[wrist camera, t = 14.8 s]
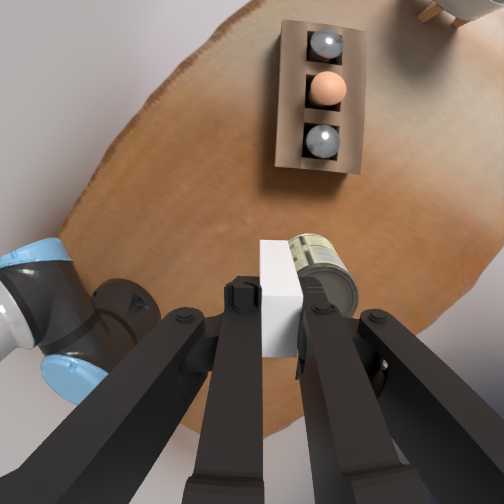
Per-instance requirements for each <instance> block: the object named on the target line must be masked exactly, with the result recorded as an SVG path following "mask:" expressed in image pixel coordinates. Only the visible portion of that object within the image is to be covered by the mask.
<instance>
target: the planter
mask: <svg viewBox="0 0 504 504" xmlns="http://www.w3.org/2000/svg"><path fill="white" fill-rule="evenodd" d="M503 7H504V0H434V1H433V2H432V3H431V4H430V5H429V6H428V7H427V8H426V9H425V10H424V11H423V12H422V13H420V14H419V15H418V17H417V18H418V19H419V20H420V21H421V22H422V23H425V22H426V21H428V20H429V19H431V18H432V17H434V16H435V15H437V14H438V13H440V12H441V11H443V10H445V11H447V12H448V13H450V14H451V15H453V16H455V17H456V18H455V20H454V21H453V22H452V24H453V25H454V26H455V27H456V28H458V27H460V26H462V25H464V24H466V23H468V22H470V21H473V20H476V19H478V18H480V17H483V16H485V15H487V14H489V13H492V12H494V11H496V10H498V9H501V8H503Z"/></svg>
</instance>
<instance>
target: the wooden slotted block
mask: <svg viewBox="0 0 504 504" xmlns="http://www.w3.org/2000/svg"><path fill="white" fill-rule="evenodd" d="M321 29H329V30H332V31H334V32H336V33H338V34H339V35H340V36H341V38H342V40H343V43H344V48H343V51H342V52H341V54H340V55H339V56H338V57H336V58H334V64H326V63H319V62H311V61H306V60H307V44H310V41H311V38H312V36H313V34H314V33H315V32H316V31H318V30H321ZM326 71H328V72H333V73H336V74H338V75H339V76H340V77H341V78H342V79H343V80H344V82H345V84H346V95H345V97H344V98H343V100H341V101H340V102H339V103H337V104H334V105H332V111H328V110H319V109H310V108H305V88H306V83H312V81H313V79H314V78H315V76H316V75H318V74H319V73H321V72H326ZM365 87H366V36H365V31H361V30H356V29H351V28H345V27H339V26H333V25H327V24H320V23H312V22H303V21H293V20H282V27H281V37H280V61H279V83H278V103H277V122H276V140H275V158H274V165H275V167H288V168H301V169H312V170H323V171H332V172H342V173H350V174H359V175H360V171H361V159H362V147H363V133H364V115H365ZM304 125H306V126H318V125H328V126H330V127H332V128H334V129H335V130H336V131H337V133H338V135H339V137H340V147H339V150H338V151H337V153H336V154H335V155H333V156H331V157H329V159H322V158H311V157H302V144H303V128H304Z"/></svg>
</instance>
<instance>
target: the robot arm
mask: <svg viewBox="0 0 504 504" xmlns="http://www.w3.org/2000/svg"><path fill="white" fill-rule="evenodd" d="M224 302H225V309H224V312H223V313H222V314H220V315H217V316H213V317H207V318H204V315H203V313H202V312H201V311H200V310H198V309H195V308H188V307H184V308H183V307H182V308H178V309H175V310H172V311H171V312H170V313H168V314H167V315H166V316H165V317H164V318H163V319H162V320H161V315H160V311H159V308H158V306H157V304H156V302H155V301H154V299H153V298H152V296H151V295H150V294H149V293H148V292H147V291H146V290H145V289H143V288H142V287H141V286H139V285H138V284H136V283H134V282H132V281H129V280H125V279H110V280H107V281H105V282H104V283H102V284H101V285H100V286H99V287H98V288H97V289H96V290H95V291H94V293H93V294H92V296H91V298H90V296H89V294H88V293H87V291H86V289H85V287H84V285H83V283H82V281H81V279H80V277H79V275H78V273H77V271H76V269H75V267H74V265H73V260H72V259H71V258H70V257H69V255H68V253H67V251H66V249H65V247H64V245H63V243H62V242H61V241H60V240H59V239H57V238H47V239H43V240H40V241H37V242H34V243H31V244H29V245H26V246H24V247H21V248H19V249H17V250H15V251H13V252H11V253H9V254H6V255H4V256H2V257H0V362H1V361H2V360H3V359H4V358H5V357H6V356H8V355H9V354H10V353H11V352H12V351H13V350H15V349H16V348H24V349H28V350H31V349H33V348H34V347H35V346H36V345H38V347H39V348H40V350H41V351H42V353H43V354H44V356H45V358H43V360H42V364H41V371H42V376H43V378H44V379H45V381H46V382H47V384H48V385H49V386H50V387H51V388H52V389H53V390H54V391H55V392H56V393H57V394H58V395H60V396H61V397H63V398H64V399H66V400H68V401H69V402H72V403H74V404H76V405H78V406H77V407H76V408H75V409H74V410H73V411H72V412H71V413H70V414H69V415H68V416H67V417H66V419H64V420H63V421H62V422H61V424H60V425H59V426H58V427H57V428H56V429H55V430H54V431H53V432H52V433H51V434H50V435H49V436H48V437H47V438H46V439H45V440H44V441H43V442H42V444H41V445H40V446H39V447H38V448H37V449H36V450H35V451H34V452H33V453H32V454H31V455H30V456H29V457H28V458H27V460H26V461H25V462H24V463H23V464H22V465H21V466H20V467H19V468H18V469H16V470H14V471H12V472H10V473H8V474H6V475H4V476H2V477H0V504H129V502H130V501H131V499H132V498H133V496H134V494H135V493H136V491H137V490H138V488H139V487H140V485H141V484H142V482H143V481H144V479H145V477H146V476H147V474H148V473H149V471H150V469H151V468H152V466H153V465H154V463H155V462H156V460H157V458H158V457H159V455H160V454H161V452H162V450H163V449H164V447H165V446H166V444H167V442H168V441H169V439H170V437H171V436H172V434H173V433H174V431H175V429H176V427H177V426H178V424H179V423H180V421H181V420H182V418H183V416H184V415H185V413H186V411H187V410H188V408H189V406H190V405H191V403H192V401H193V400H194V398H195V396H196V395H197V393H198V392H199V390H200V388H201V387H202V385H203V383H204V381H205V380H206V378H207V376H208V372H209V371H212V375H211V380H210V385H209V391H208V396H207V401H206V407H205V412H204V417H203V423H202V428H201V434H200V439H199V445H198V450H197V456H196V461H195V467H194V472H193V474H192V476H190V477H188V479H187V481H186V485H185V489H184V493H183V498H182V504H264V481H263V398H262V357H296V356H297V348H298V353H299V356H298V363H297V371H296V378H295V380H298V378H299V381H300V387H301V395H302V402H303V409H304V416H305V424H306V431H307V439H308V447H309V454H310V463H311V471H312V480H313V488H314V497H315V504H430V503H429V500H428V498H427V494H426V491H425V489H424V486H423V483H424V484H425V485H426V487H427V488H428V490H429V491H430V493H431V494H432V496H433V497H434V498H435V500H436V501H437V503H438V504H504V420H503V419H502V418H501V417H500V416H499V415H498V414H497V413H496V412H495V411H494V410H493V409H492V408H491V407H490V406H489V405H488V404H487V403H486V402H485V401H484V400H483V399H482V398H481V397H480V396H479V395H478V394H477V393H476V392H475V391H474V390H473V389H472V388H471V387H470V386H469V385H468V384H466V383H465V382H464V381H463V380H462V379H461V378H460V377H459V376H458V375H457V374H456V373H455V372H454V371H453V370H452V369H451V368H450V367H448V366H447V365H446V364H445V363H444V362H443V361H442V360H441V359H440V358H439V357H437V355H435V354H434V353H433V352H432V351H431V350H430V349H429V348H428V347H427V346H426V345H424V343H422V342H421V341H420V340H419V339H418V338H417V337H416V336H415V335H414V334H412V333H411V332H410V331H409V330H408V329H407V328H406V327H405V326H403V325H402V324H401V323H400V322H399V321H398V320H397V319H396V318H394V317H393V316H392V315H391V314H389V313H388V312H385V311H383V310H380V309H378V310H377V309H368V310H365V311H363V312H362V313H361V315H360V319H354V318H348V317H344V316H342V315H341V312H340V310H339V309H338V307H337V306H335V305H334V304H332V303H329V301H328V298H327V296H326V294H325V292H324V289H323V286H322V284H321V282H320V281H319V280H318V279H316V278H315V277H298V276H297V272H296V269H295V265H294V261H293V258H292V255H291V251H290V248H289V244H288V241H281V240H260V258H259V277H253V276H238V277H236V278H235V279H234V280H233V282H230V283H228V284H226V286H225V287H224ZM384 360H385V361H386V362H387V364H388V367H387V368H385V367H384V366H383V361H384ZM391 437H392V438H393V440H394V441H395V443H396V444H397V445H398V447H399V448H400V450H401V451H402V453H403V454H404V455H405V457H406V458H407V460H408V461H409V463H410V464H411V465H403V464H402V463H401V462H400V460H399V458H398V455H397V452H396V450H395V447H394V444H393V441H392V438H391ZM422 481H423V483H422Z"/></svg>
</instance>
